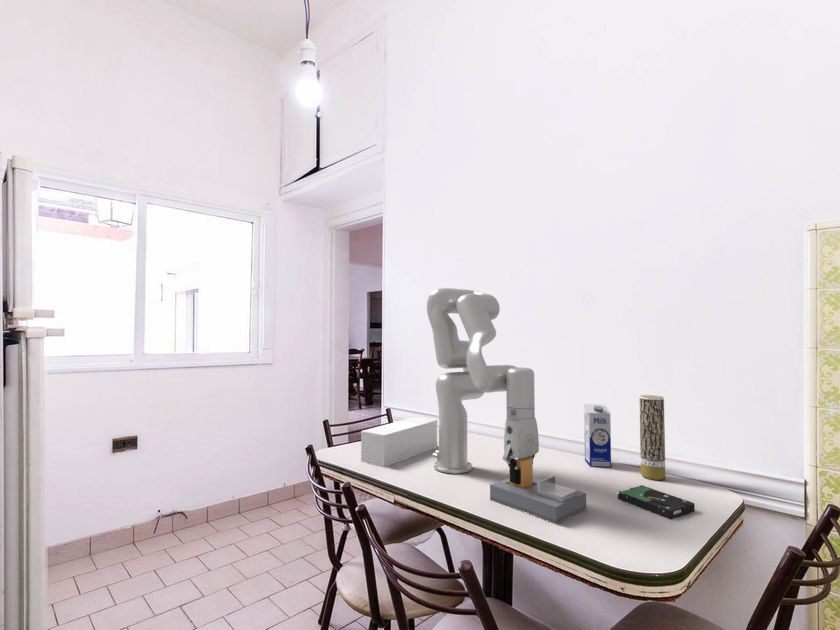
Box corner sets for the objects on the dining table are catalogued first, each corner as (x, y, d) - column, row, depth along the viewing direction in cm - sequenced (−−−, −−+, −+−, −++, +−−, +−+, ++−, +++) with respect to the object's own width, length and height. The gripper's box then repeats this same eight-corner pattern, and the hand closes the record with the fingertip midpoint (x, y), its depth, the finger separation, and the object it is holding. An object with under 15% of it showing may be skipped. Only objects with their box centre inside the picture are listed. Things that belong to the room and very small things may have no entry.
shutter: (537, 494, 111) (537, 481, 111) (552, 487, 115) (552, 475, 116) (562, 502, 106) (562, 488, 106) (577, 495, 110) (577, 482, 110)
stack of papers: (415, 443, 179) (415, 416, 179) (437, 447, 173) (437, 419, 173) (360, 461, 153) (361, 430, 154) (384, 467, 147) (384, 435, 147)
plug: (509, 487, 119) (509, 457, 119) (519, 483, 122) (519, 454, 122) (523, 492, 116) (522, 461, 116) (532, 488, 119) (532, 458, 119)
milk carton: (605, 461, 153) (604, 404, 154) (611, 467, 147) (610, 407, 147) (584, 461, 154) (583, 403, 155) (589, 466, 147) (589, 406, 148)
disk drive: (695, 514, 110) (641, 494, 123) (695, 502, 110) (641, 484, 124) (670, 522, 105) (617, 501, 118) (670, 510, 106) (616, 490, 119)
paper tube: (641, 472, 141) (640, 394, 142) (665, 476, 138) (664, 396, 139) (640, 478, 135) (638, 397, 136) (665, 482, 132) (663, 398, 133)
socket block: (490, 499, 118) (490, 484, 118) (521, 487, 127) (521, 473, 127) (556, 524, 103) (555, 506, 103) (586, 508, 112) (586, 492, 112)
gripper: (512, 419, 111) (513, 492, 111) (549, 411, 122) (550, 477, 122) (489, 414, 117) (490, 484, 116) (527, 408, 128) (527, 471, 127)
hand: (520, 480), depth 119 cm, fingers closed on plug, 4 cm apart
